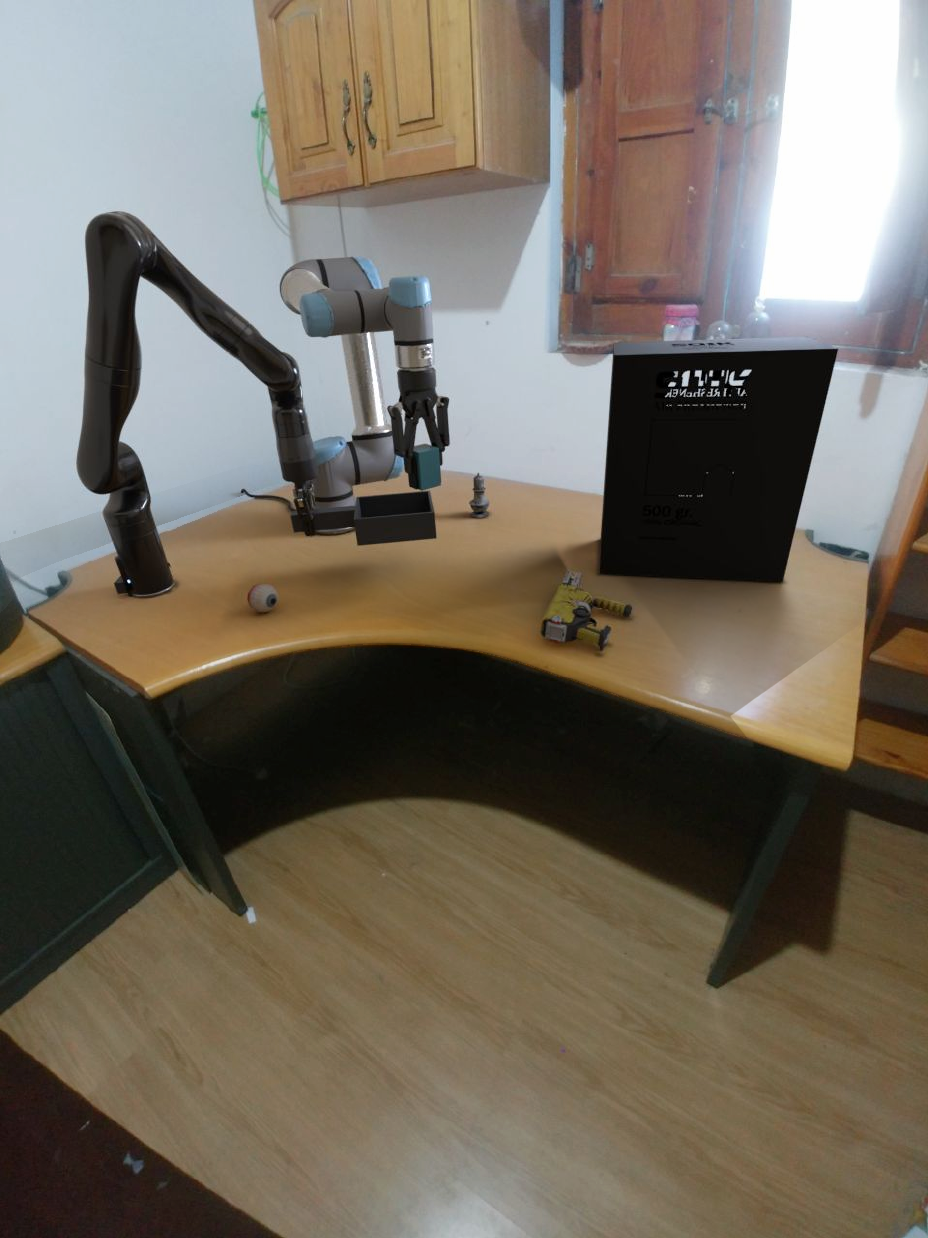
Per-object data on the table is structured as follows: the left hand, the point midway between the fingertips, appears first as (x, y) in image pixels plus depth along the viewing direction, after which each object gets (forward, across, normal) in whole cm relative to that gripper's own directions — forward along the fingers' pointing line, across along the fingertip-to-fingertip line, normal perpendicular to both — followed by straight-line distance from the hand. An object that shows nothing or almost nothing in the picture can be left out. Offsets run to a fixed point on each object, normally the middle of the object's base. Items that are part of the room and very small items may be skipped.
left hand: (311, 532), depth 135 cm
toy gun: (+11, -32, -55) cm, 65 cm away
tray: (+1, 0, -12) cm, 12 cm away
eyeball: (+11, -15, +10) cm, 21 cm away
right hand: (-10, -4, -26) cm, 29 cm away
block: (-10, -4, -26) cm, 28 cm away
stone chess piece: (+11, +31, -42) cm, 54 cm away
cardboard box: (+11, -9, -84) cm, 85 cm away
